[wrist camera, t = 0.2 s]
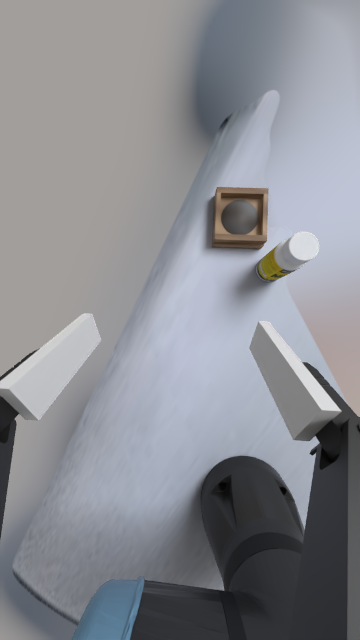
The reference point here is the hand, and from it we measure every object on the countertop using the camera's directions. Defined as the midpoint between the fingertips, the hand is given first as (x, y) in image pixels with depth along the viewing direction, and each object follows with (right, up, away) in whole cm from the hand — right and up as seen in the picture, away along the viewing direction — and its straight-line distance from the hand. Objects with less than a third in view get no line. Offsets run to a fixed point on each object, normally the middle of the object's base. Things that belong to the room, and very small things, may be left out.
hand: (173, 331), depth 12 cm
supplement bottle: (+17, +10, +16) cm, 25 cm away
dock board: (+11, +19, +16) cm, 28 cm away
